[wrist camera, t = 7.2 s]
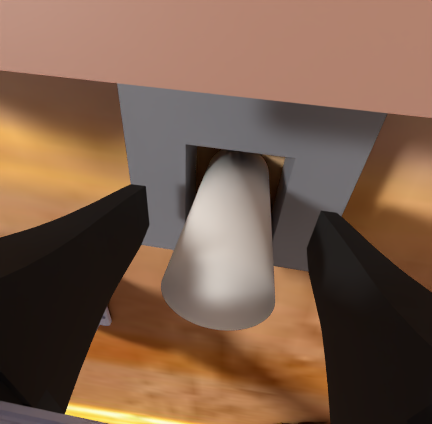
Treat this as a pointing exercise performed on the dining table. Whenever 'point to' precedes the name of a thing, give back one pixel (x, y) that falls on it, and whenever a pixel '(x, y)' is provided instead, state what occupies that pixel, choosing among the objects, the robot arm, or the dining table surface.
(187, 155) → the socket station
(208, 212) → the peg
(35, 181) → the dining table surface
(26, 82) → the dining table surface
